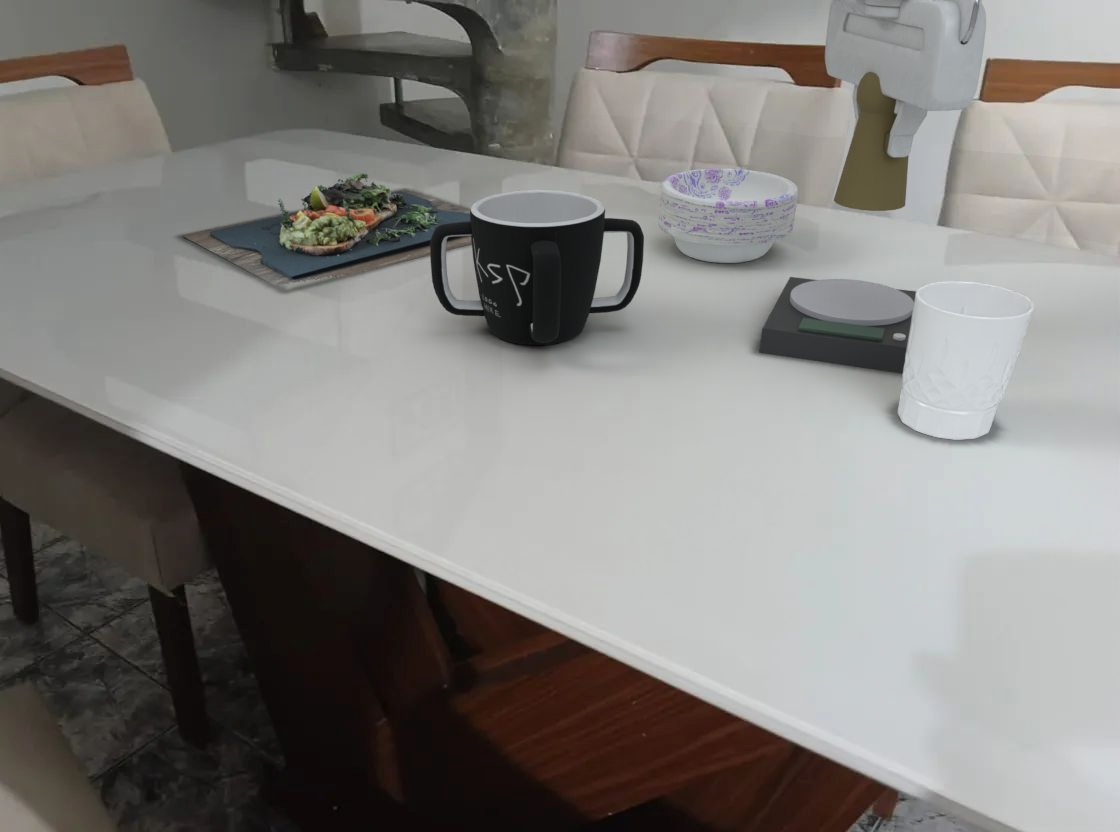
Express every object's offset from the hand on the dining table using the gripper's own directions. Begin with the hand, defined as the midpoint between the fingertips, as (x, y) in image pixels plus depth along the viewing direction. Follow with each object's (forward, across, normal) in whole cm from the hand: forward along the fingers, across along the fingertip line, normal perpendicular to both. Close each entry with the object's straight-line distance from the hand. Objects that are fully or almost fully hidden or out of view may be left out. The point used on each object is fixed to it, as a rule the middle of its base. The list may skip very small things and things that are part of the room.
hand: (879, 148), depth 84 cm
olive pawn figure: (+5, 0, 0) cm, 5 cm away
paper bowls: (+17, +25, +4) cm, 30 cm away
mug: (+17, +4, +29) cm, 34 cm away
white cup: (+17, -19, +1) cm, 26 cm away
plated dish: (+17, +39, +47) cm, 64 cm away
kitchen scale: (+17, -1, +1) cm, 17 cm away
